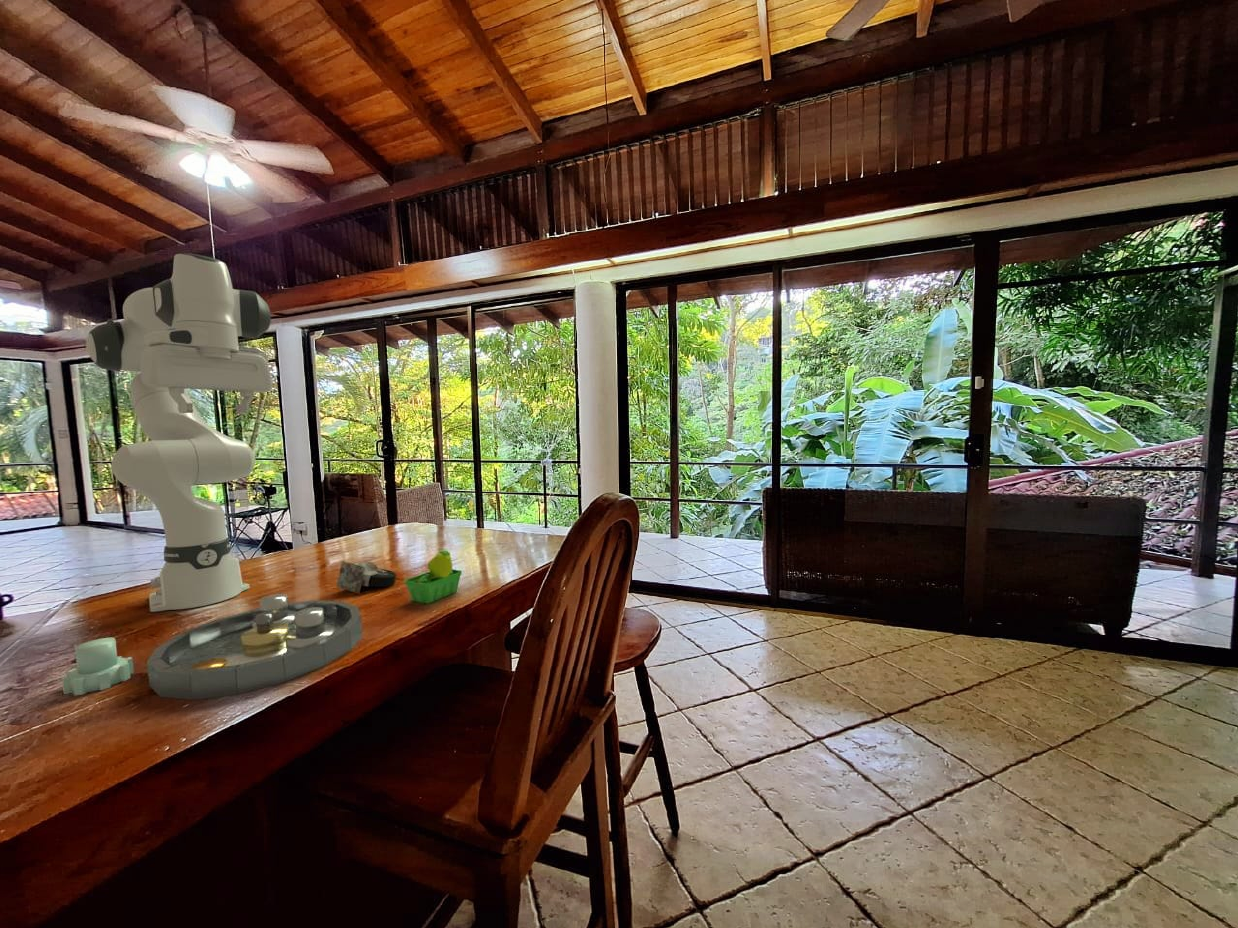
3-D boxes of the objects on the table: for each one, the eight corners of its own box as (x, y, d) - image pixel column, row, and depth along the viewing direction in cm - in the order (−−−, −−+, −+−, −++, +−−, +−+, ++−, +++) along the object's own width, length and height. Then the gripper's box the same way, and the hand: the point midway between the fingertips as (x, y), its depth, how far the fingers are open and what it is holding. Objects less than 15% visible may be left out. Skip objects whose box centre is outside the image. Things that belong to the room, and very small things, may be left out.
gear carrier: (129, 666, 83) (124, 624, 82) (316, 609, 108) (314, 576, 107) (186, 721, 66) (181, 669, 65) (392, 638, 91) (389, 600, 90)
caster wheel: (399, 591, 126) (373, 598, 117) (362, 580, 128) (334, 587, 119) (405, 566, 127) (379, 571, 117) (368, 556, 129) (340, 561, 119)
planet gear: (59, 686, 77) (54, 647, 76) (127, 666, 83) (123, 629, 83) (68, 700, 72) (63, 659, 72) (139, 677, 79) (135, 639, 78)
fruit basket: (441, 586, 121) (439, 542, 120) (468, 591, 117) (466, 545, 116) (403, 602, 111) (400, 554, 110) (431, 607, 107) (428, 557, 106)
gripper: (257, 350, 103) (263, 414, 104) (131, 334, 84) (139, 413, 85) (276, 347, 100) (281, 413, 101) (150, 330, 82) (158, 411, 83)
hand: (215, 413), depth 93 cm, fingers open, 8 cm apart
